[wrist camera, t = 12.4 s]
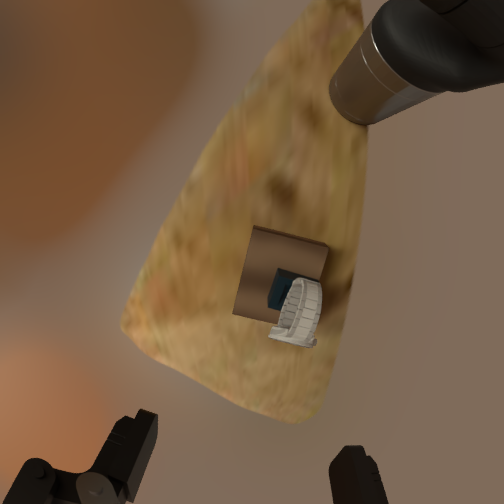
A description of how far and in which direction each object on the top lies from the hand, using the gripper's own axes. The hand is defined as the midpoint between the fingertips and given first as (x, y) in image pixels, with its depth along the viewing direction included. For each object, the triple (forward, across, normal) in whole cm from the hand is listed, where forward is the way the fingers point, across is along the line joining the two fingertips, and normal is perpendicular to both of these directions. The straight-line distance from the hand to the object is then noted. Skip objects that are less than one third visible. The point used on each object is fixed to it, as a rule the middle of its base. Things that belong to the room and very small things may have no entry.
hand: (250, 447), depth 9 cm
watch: (+27, -5, +2) cm, 28 cm away
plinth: (+30, -3, +2) cm, 30 cm away
